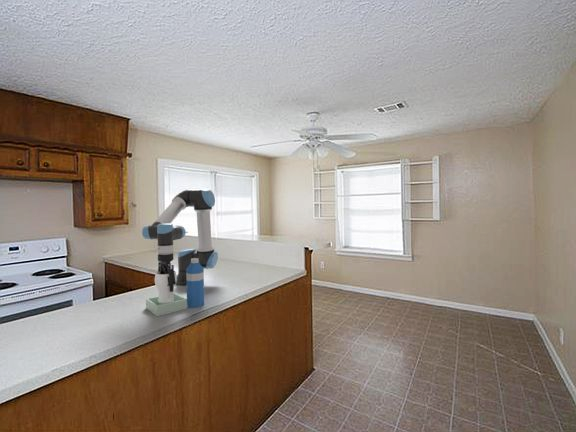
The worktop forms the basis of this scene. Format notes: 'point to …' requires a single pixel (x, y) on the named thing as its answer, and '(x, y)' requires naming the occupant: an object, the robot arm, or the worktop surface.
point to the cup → (163, 287)
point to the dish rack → (166, 305)
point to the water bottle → (195, 284)
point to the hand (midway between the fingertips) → (166, 295)
